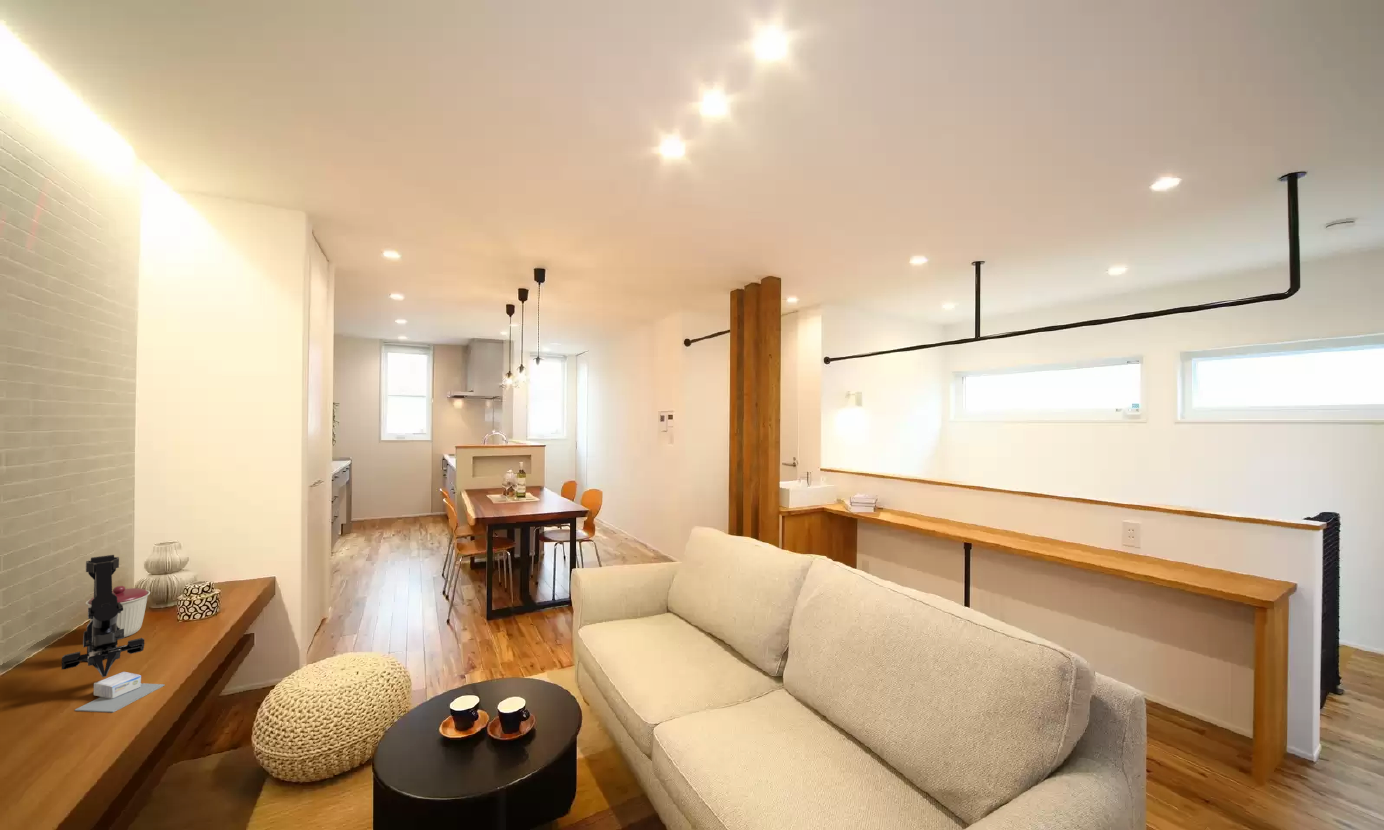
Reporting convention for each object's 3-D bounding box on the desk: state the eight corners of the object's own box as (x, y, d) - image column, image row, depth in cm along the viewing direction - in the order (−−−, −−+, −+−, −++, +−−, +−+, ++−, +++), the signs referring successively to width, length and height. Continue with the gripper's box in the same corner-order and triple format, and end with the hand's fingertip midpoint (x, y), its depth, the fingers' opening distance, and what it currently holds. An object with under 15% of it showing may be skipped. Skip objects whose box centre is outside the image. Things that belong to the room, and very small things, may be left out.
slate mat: (74, 710, 163) (74, 709, 163) (129, 683, 179) (129, 682, 179) (112, 712, 163) (112, 711, 163) (164, 685, 179) (164, 684, 179)
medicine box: (92, 695, 171) (111, 699, 169) (93, 682, 171) (111, 686, 169) (123, 683, 178) (141, 687, 177) (123, 670, 178) (141, 674, 177)
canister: (81, 636, 211) (83, 586, 210) (144, 622, 225) (146, 576, 225) (87, 649, 200) (88, 597, 200) (152, 634, 215) (154, 585, 215)
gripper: (62, 631, 167) (61, 676, 161) (145, 615, 182) (146, 656, 175) (62, 647, 172) (60, 691, 166) (142, 630, 187) (143, 670, 180)
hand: (104, 676), depth 172 cm, fingers closed
